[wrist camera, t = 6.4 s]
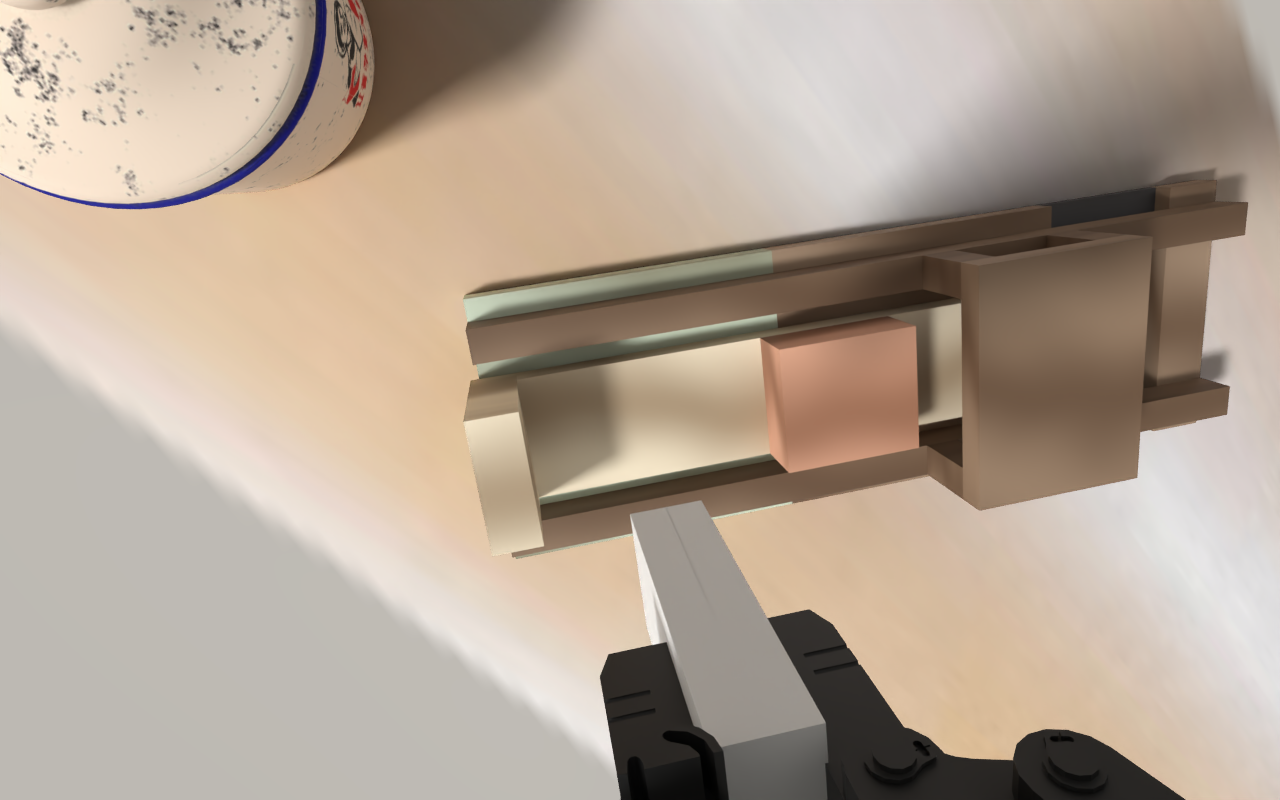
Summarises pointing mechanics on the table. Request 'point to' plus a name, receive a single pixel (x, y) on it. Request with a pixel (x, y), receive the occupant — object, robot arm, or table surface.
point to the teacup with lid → (178, 95)
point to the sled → (711, 408)
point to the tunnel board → (902, 276)
